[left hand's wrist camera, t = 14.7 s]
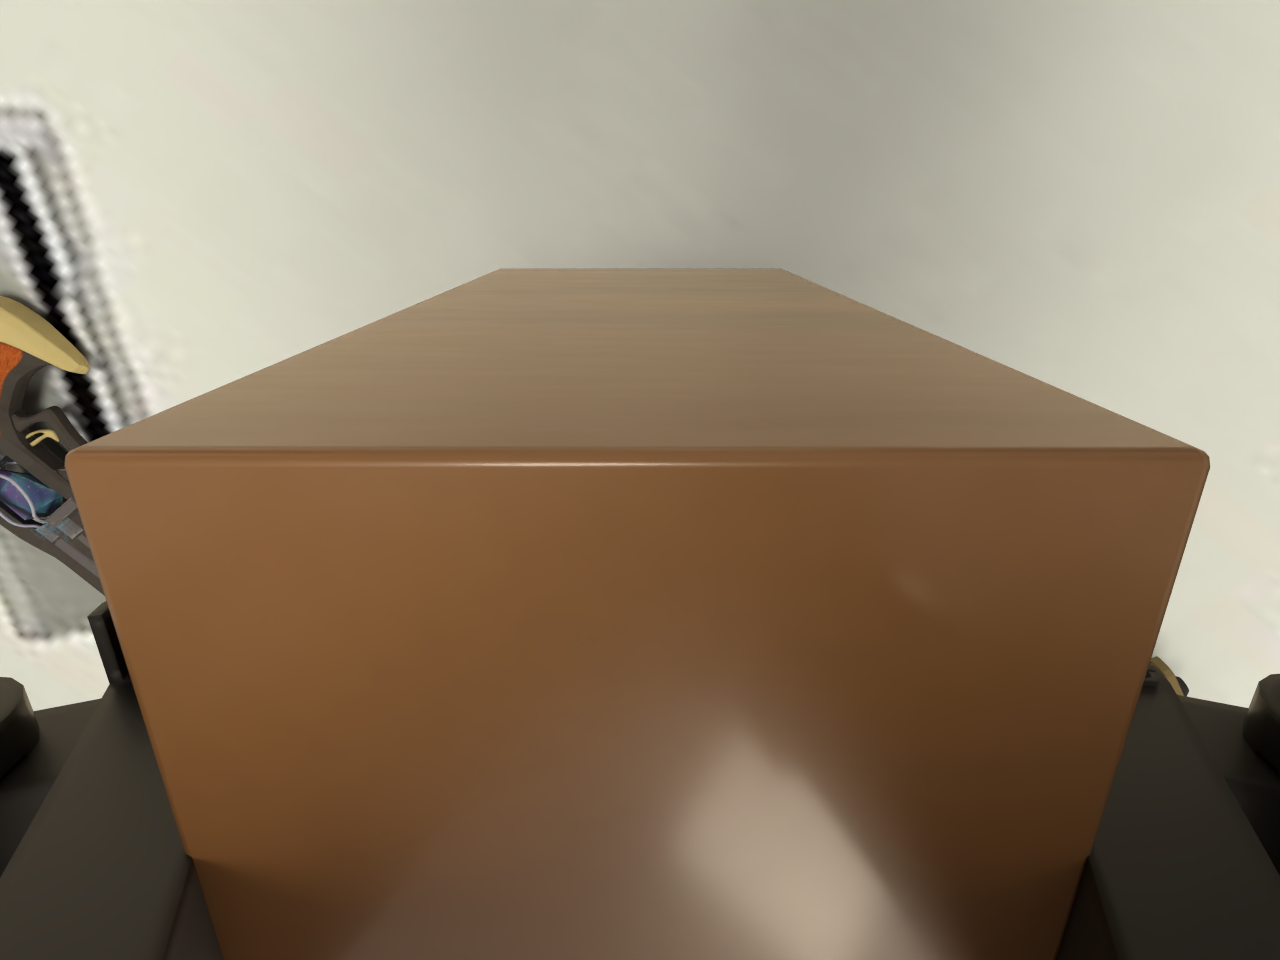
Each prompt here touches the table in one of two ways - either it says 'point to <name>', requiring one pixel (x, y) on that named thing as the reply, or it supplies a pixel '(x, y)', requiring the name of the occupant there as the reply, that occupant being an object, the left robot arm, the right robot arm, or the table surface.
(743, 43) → the table surface
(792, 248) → the table surface
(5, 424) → the toy gun
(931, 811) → the box
